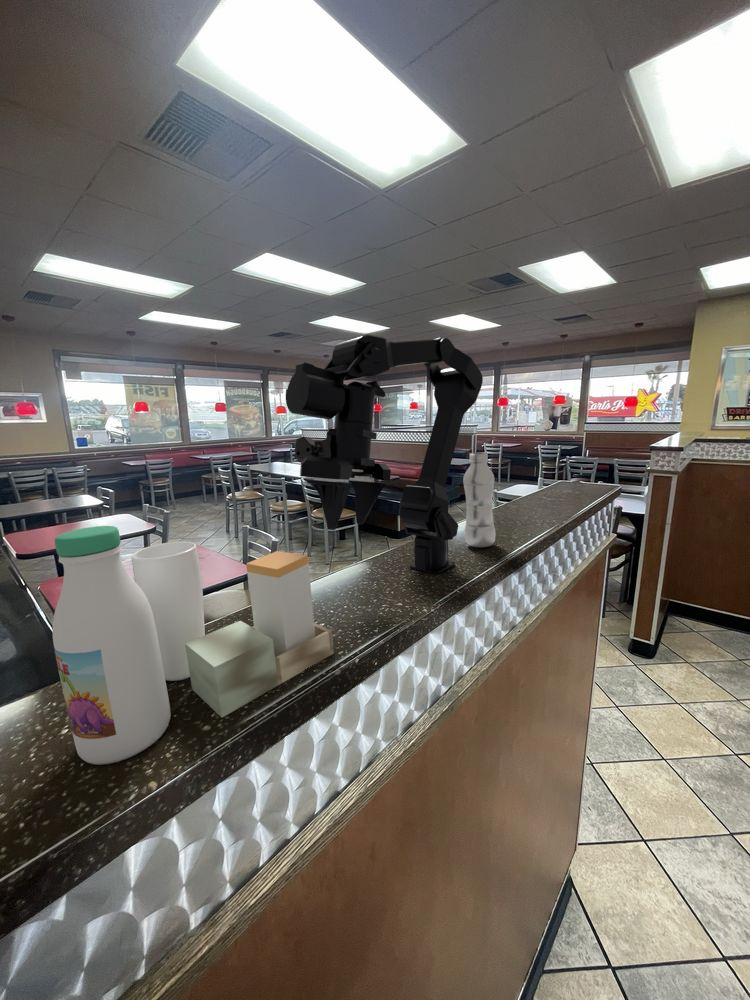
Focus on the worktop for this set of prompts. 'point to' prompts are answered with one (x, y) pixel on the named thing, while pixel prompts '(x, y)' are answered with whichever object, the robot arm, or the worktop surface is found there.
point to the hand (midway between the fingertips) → (346, 526)
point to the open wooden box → (247, 664)
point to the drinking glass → (172, 599)
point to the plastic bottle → (479, 502)
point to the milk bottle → (107, 650)
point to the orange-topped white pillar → (282, 599)
